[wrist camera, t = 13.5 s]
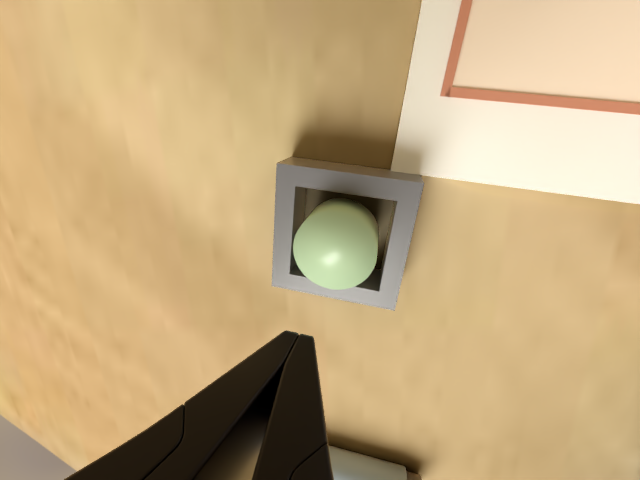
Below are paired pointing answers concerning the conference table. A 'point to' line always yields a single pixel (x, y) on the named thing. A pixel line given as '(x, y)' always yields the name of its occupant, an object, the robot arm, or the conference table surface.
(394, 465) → the grey cylinder
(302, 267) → the button
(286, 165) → the button housing
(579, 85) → the sheet
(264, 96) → the conference table surface
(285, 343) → the robot arm
